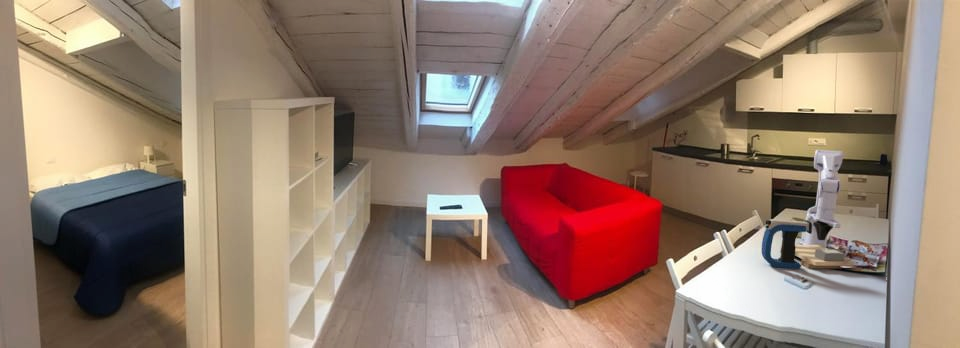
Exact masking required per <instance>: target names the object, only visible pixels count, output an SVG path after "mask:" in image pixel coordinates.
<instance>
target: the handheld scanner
mask: <svg viewBox="0 0 960 348" xmlns="http://www.w3.org/2000/svg"><path fill="white" fill-rule="evenodd" d="M764 226H765V227H764V228H765V229H764V233H763V237H762V241H761V255H762V257H763V259H764V260H765V261H766V262H767V263H768V264H769V265H770V266H772V267H774V268H778V269H792V270H800V269H801V267H802V265H801V262H799V261H797V260H795V257H796V256H795V248H796V247H795V245H796V240H797V238H798V237H797V236H798V233H799V232H805V231H806V232H808V233H809V234H812V223H811V222H809V221H808V220H805V222H802V221H790V220H785V219H773V218H772V219H771V218H770V219H767V220H766V221H765V225H764ZM777 232H781V238H782V241H781V245H782V247H781V246H780V251H781V253H780V257H779V258H773V257H772V255H771V254H772V246H773V245H772V244H773V239H774V236H775V235H776V234H777Z"/></svg>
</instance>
